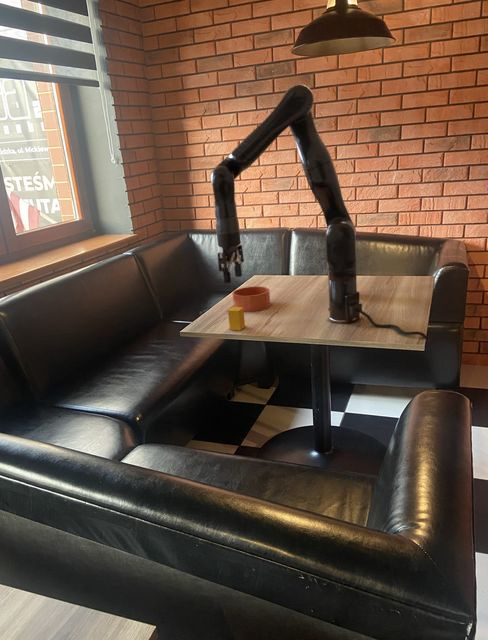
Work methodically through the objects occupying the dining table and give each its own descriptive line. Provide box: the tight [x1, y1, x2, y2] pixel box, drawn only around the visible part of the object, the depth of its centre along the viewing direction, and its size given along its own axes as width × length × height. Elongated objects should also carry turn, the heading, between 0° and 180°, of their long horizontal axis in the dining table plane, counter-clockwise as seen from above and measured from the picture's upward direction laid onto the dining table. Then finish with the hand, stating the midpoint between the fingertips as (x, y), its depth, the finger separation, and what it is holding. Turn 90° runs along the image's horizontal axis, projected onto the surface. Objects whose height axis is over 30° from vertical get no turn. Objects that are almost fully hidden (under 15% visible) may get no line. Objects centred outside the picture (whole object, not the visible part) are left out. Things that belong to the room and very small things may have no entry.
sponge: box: [227, 306, 246, 331], centre depth 184 cm, size 4×4×7 cm
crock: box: [232, 285, 271, 313], centre depth 208 cm, size 14×14×6 cm
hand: (233, 279), depth 179 cm, fingers open, 8 cm apart
